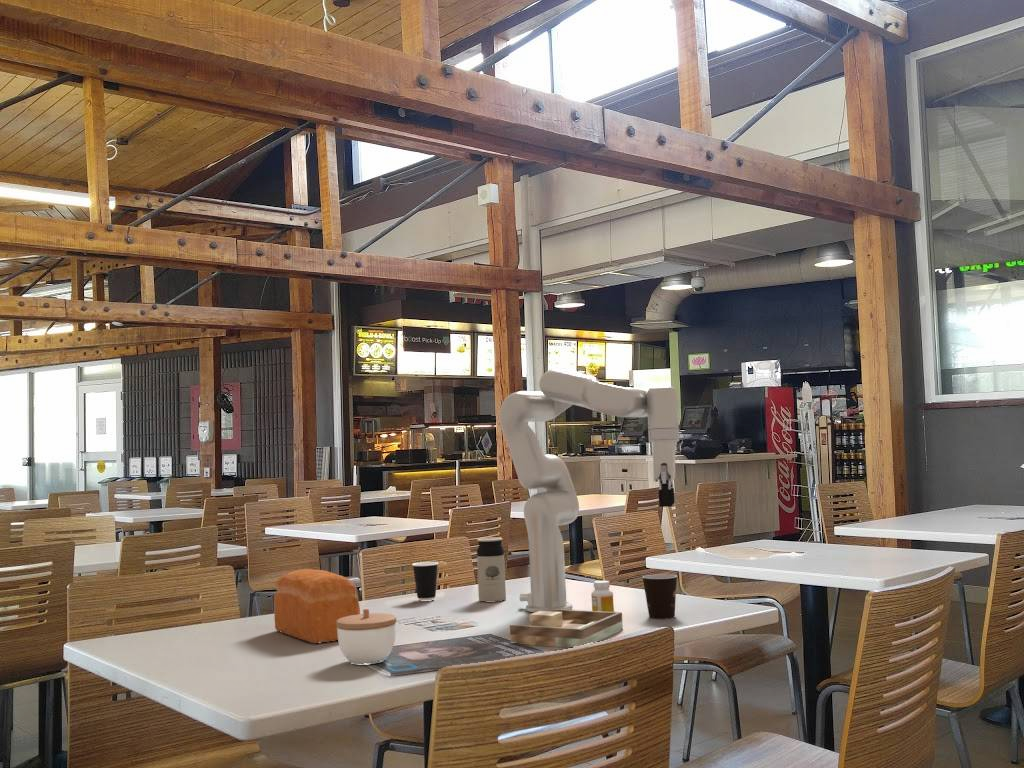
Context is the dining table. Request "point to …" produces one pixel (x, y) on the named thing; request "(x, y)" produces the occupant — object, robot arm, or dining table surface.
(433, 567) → the dixie cup
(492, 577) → the travel mug
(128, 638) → the dining table surface
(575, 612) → the box
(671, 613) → the coffee mug
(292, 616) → the bread
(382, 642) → the lidded bowl
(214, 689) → the dining table surface
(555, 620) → the maple block
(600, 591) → the supplement bottle
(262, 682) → the dining table surface
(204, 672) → the dining table surface
